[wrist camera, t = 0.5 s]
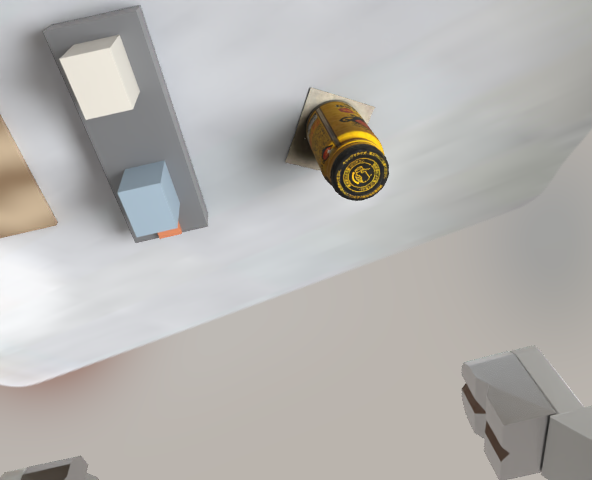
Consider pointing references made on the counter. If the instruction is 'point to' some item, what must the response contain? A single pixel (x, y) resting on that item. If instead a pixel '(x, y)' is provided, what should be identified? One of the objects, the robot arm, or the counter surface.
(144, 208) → the light blue block
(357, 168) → the condiment
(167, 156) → the power strip
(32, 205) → the oak pad
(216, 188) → the counter surface
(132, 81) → the plug
